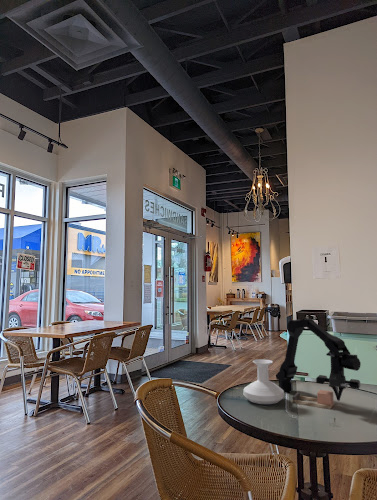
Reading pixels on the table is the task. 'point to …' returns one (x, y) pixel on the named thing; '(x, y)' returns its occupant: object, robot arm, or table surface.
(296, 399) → the chute
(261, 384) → the white vase
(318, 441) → the table surface
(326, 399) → the block
